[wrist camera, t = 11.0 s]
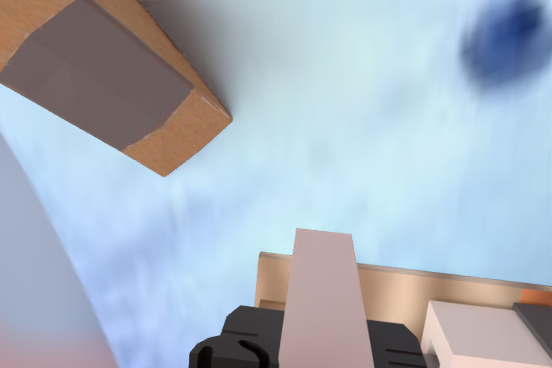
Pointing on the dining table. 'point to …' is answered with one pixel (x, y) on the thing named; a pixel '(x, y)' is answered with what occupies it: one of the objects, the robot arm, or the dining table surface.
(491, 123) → the dining table surface
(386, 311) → the rail
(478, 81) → the dining table surface
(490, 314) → the sleeve
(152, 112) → the sandwich container
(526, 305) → the ring
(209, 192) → the dining table surface
